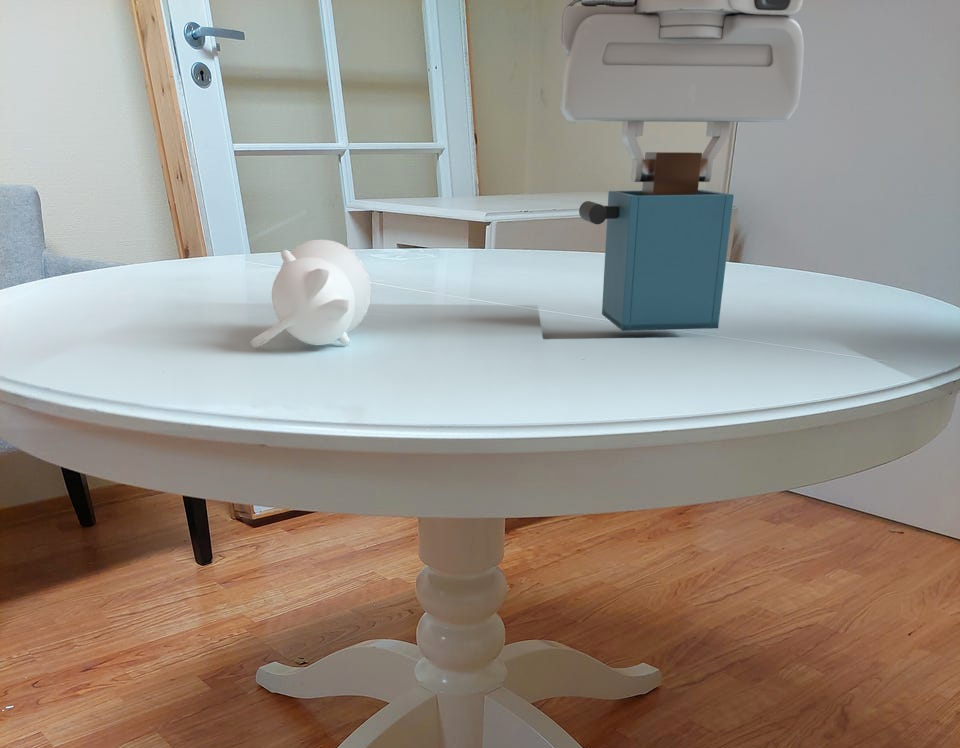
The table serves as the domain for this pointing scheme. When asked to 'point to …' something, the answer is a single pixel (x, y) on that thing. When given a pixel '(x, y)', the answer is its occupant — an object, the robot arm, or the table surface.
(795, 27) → the robot arm
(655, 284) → the tub
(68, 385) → the table surface
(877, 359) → the table surface
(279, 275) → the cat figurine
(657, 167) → the block
